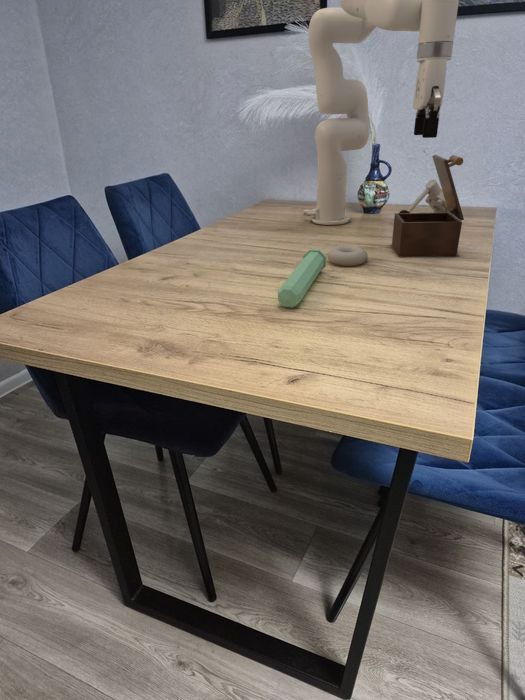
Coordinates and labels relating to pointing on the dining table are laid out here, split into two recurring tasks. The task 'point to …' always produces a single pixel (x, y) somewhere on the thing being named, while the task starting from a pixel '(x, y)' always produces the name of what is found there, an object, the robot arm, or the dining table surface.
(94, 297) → the dining table surface
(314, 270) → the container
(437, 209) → the valve
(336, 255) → the donut
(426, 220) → the chest
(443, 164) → the lid
